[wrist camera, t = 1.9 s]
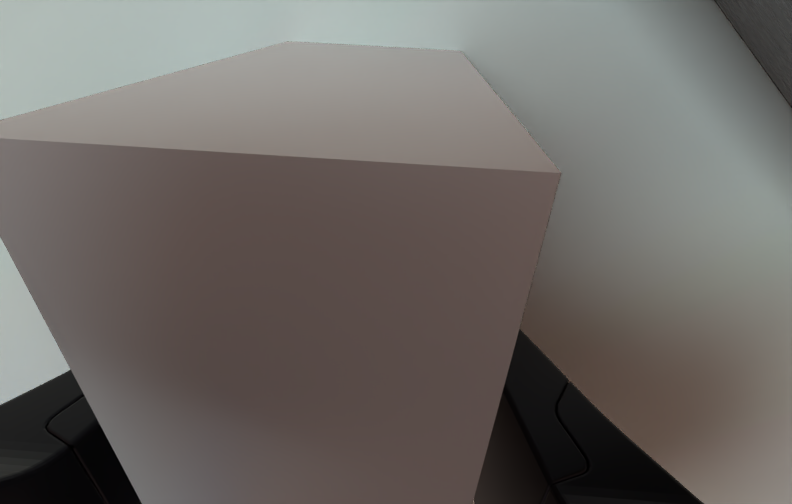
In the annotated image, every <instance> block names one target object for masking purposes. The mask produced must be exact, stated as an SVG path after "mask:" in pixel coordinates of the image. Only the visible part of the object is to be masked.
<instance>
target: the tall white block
mask: <svg viewBox="0 0 792 504" xmlns="http://www.w3.org/2000/svg"><path fill="white" fill-rule="evenodd" d="M560 176H561V172H560V171H559V170H558V168H557V167H556V166H555V165H554V163H553V162H552V161H551V160H550V159H549V157H548V156H547V155H546V154H545V153H544V151H543V150H542V149H541V148H540V146H539V145H538V144H537V143H536V142H535V140H534V139H533V138H532V137H531V135H530V134H529V133H528V132H527V131H526V129H525V128H524V127H523V126H522V125H521V123H520V122H519V121H518V120H517V118H516V117H515V116H514V115H513V114H512V112H511V111H510V110H509V109H508V107H507V106H506V105H505V104H504V103H503V101H502V100H501V99H500V98H499V97H498V95H497V94H496V93H495V92H494V90H493V89H492V88H491V87H490V86H489V84H488V83H487V82H486V81H485V79H484V78H483V77H482V76H481V75H480V73H479V72H478V71H477V70H476V69H475V67H474V66H473V65H472V64H471V62H470V61H469V60H468V59H467V58H466V56H465V55H464V54H463V53H462V51H456V50H437V49H419V48H401V47H383V46H365V45H347V44H328V43H310V42H292V41H287V42H283V43H280V44H276V45H272V46H269V47H265V48H261V49H258V50H254V51H250V52H247V53H243V54H239V55H236V56H232V57H229V58H225V59H221V60H218V61H214V62H210V63H207V64H203V65H199V66H196V67H192V68H188V69H185V70H181V71H178V72H174V73H170V74H167V75H163V76H159V77H156V78H152V79H148V80H145V81H141V82H137V83H134V84H130V85H127V86H123V87H119V88H116V89H112V90H108V91H105V92H101V93H97V94H94V95H90V96H86V97H83V98H79V99H76V100H72V101H68V102H65V103H61V104H57V105H54V106H50V107H46V108H43V109H39V110H35V111H32V112H28V113H25V114H21V115H17V116H14V117H10V118H6V119H3V120H0V237H1V239H2V241H3V243H4V244H5V246H6V248H7V250H8V252H9V254H10V256H11V258H12V260H13V261H14V263H15V265H16V267H17V269H18V271H19V273H20V275H21V277H22V278H23V280H24V282H25V284H26V286H27V288H28V290H29V292H30V294H31V295H32V297H33V299H34V301H35V303H36V305H37V307H38V309H39V310H40V312H41V314H42V316H43V318H44V320H45V322H46V324H47V326H48V327H49V329H50V331H51V333H52V335H53V337H54V339H55V341H56V343H57V344H58V346H59V348H60V350H61V352H62V354H63V356H64V358H65V360H66V361H67V363H68V365H69V367H70V369H71V371H72V373H73V375H74V377H75V378H76V380H77V382H78V384H79V386H80V388H81V390H82V392H83V393H84V395H85V397H86V399H87V401H88V403H89V405H90V407H91V409H92V410H93V412H94V414H95V416H96V418H97V420H98V422H99V424H100V426H101V427H102V429H103V431H104V433H105V435H106V437H107V439H108V441H109V443H110V444H111V446H112V448H113V450H114V452H115V454H116V456H117V458H118V459H119V461H120V463H121V465H122V467H123V469H124V471H125V473H126V475H127V476H128V478H129V480H130V482H131V484H132V486H133V488H134V490H135V492H136V493H137V495H138V497H139V499H140V501H141V503H142V504H472V503H473V500H474V496H475V492H476V489H477V485H478V481H479V477H480V474H481V470H482V466H483V463H484V459H485V455H486V451H487V448H488V444H489V440H490V436H491V433H492V429H493V425H494V422H495V418H496V414H497V410H498V407H499V403H500V399H501V396H502V392H503V388H504V384H505V381H506V377H507V373H508V370H509V366H510V362H511V358H512V355H513V351H514V347H515V344H516V340H517V336H518V332H519V329H520V325H521V321H522V318H523V314H524V310H525V306H526V303H527V299H528V295H529V292H530V288H531V284H532V280H533V277H534V273H535V269H536V265H537V262H538V258H539V254H540V251H541V247H542V243H543V239H544V236H545V232H546V228H547V225H548V221H549V217H550V213H551V210H552V206H553V202H554V199H555V195H556V191H557V187H558V184H559V180H560Z"/></svg>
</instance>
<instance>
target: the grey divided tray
mask: <svg viewBox="0 0 792 504" xmlns="http://www.w3.org/2000/svg"><path fill="white" fill-rule="evenodd" d="M715 1H716V2H717V4H718V5H719V6H720V8H721V9H722V11H723V12H724V13H725V15H726V16H727V18H728V19H729V20H730V22H731V23H732V25H733V26H734V27H735V29H736V30H737V31H738V33H739V34H740V36H741V37H742V38H743V40H744V41H745V43H746V44H747V45H748V47H749V48H750V50H751V51H752V52H753V54H754V55H755V56H756V58H757V59H758V61H759V62H760V63H761V65H762V66H763V68H764V69H765V70H766V72H767V73H768V75H769V76H770V77H771V79H772V80H773V81H774V83H775V84H776V86H777V87H778V88H779V90H780V91H781V93H782V94H783V95H784V97H785V98H786V100H787V101H788V102H789V104H790V105H791V106H792V0H715Z"/></svg>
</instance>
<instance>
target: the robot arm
mask: <svg viewBox="0 0 792 504" xmlns="http://www.w3.org/2000/svg"><path fill="white" fill-rule="evenodd" d="M568 382H569V380H568V379H567V378H566V376H565V375H564V374H563V373H562V372H561V371H560V370H559V369H558V368H557V367H556V366H555V365H554V364H553V363H552V362H551V361H550V360H549V359H548V358H547V357H546V356H545V355H544V354H543V352H542V351H541V350H540V349H539V348H538V347H537V346H536V345H535V344H534V343H533V342H532V341H531V340H530V339H529V338H528V337H527V336H526V335H525V334H524V333H523V332H522V331H521V330H520V329H519V332H518V336H517V340H516V344H515V347H514V351H513V355H512V358H511V362H510V366H509V370H508V373H507V377H506V381H505V384H504V388H503V392H502V396H501V399H500V403H499V407H498V410H497V414H496V418H495V422H494V425H493V429H492V433H491V436H490V440H489V444H488V448H487V451H486V455H485V459H484V463H483V466H482V470H481V474H480V477H479V481H478V485H477V489H476V492H475V496H474V503H475V504H704V503H703V502H701V501H700V500H699V499H698V498H697V497H695V496H694V495H693V494H692V493H691V492H690V491H688V490H687V489H686V488H685V487H684V486H683V485H682V484H680V483H679V482H678V481H677V480H676V479H675V478H674V477H672V476H671V475H670V474H669V473H668V472H667V471H666V470H665V469H663V468H662V467H661V466H660V465H659V464H658V463H657V462H655V461H654V460H653V459H652V458H651V457H650V456H649V455H647V454H646V453H645V452H644V451H643V450H642V449H641V448H639V447H638V446H637V445H636V444H635V443H634V442H633V441H631V440H630V439H629V438H628V437H627V436H626V435H625V434H624V433H623V432H622V431H620V430H619V429H618V428H617V427H616V426H615V425H614V424H613V423H612V422H611V421H610V420H608V419H607V418H606V417H605V416H604V415H603V414H602V413H601V412H600V411H599V410H598V409H597V408H596V407H595V406H594V405H593V404H592V403H591V402H590V401H589V400H588V399H587V398H586V397H585V396H584V395H583V394H582V393H581V392H580V391H579V390H578V389H577V388H576V387H575V386H574V385H573V384H572V383H571V382H569V383H568ZM0 504H142V503H141V501H140V499H139V497H138V495H137V493H136V492H135V490H134V488H133V486H132V484H131V482H130V480H129V478H128V476H127V475H126V473H125V471H124V469H123V467H122V465H121V463H120V461H119V459H118V458H117V456H116V454H115V452H114V450H113V448H112V446H111V444H110V443H109V441H108V439H107V437H106V435H105V433H104V431H103V429H102V427H101V426H100V424H99V422H98V420H97V418H96V416H95V414H94V412H93V410H92V409H91V407H90V405H89V403H88V401H87V399H86V397H85V395H84V393H83V392H82V390H81V388H80V386H79V384H78V382H77V380H76V378H75V377H74V375H73V373H72V371H71V370H69V371H67V372H66V373H64V374H62V375H60V376H58V377H56V378H54V379H52V380H50V381H48V382H46V383H44V384H42V385H40V386H38V387H36V388H34V389H32V390H30V391H28V392H26V393H24V394H22V395H20V396H18V397H16V398H14V399H12V400H10V401H8V402H5V403H3V404H1V405H0Z"/></svg>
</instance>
